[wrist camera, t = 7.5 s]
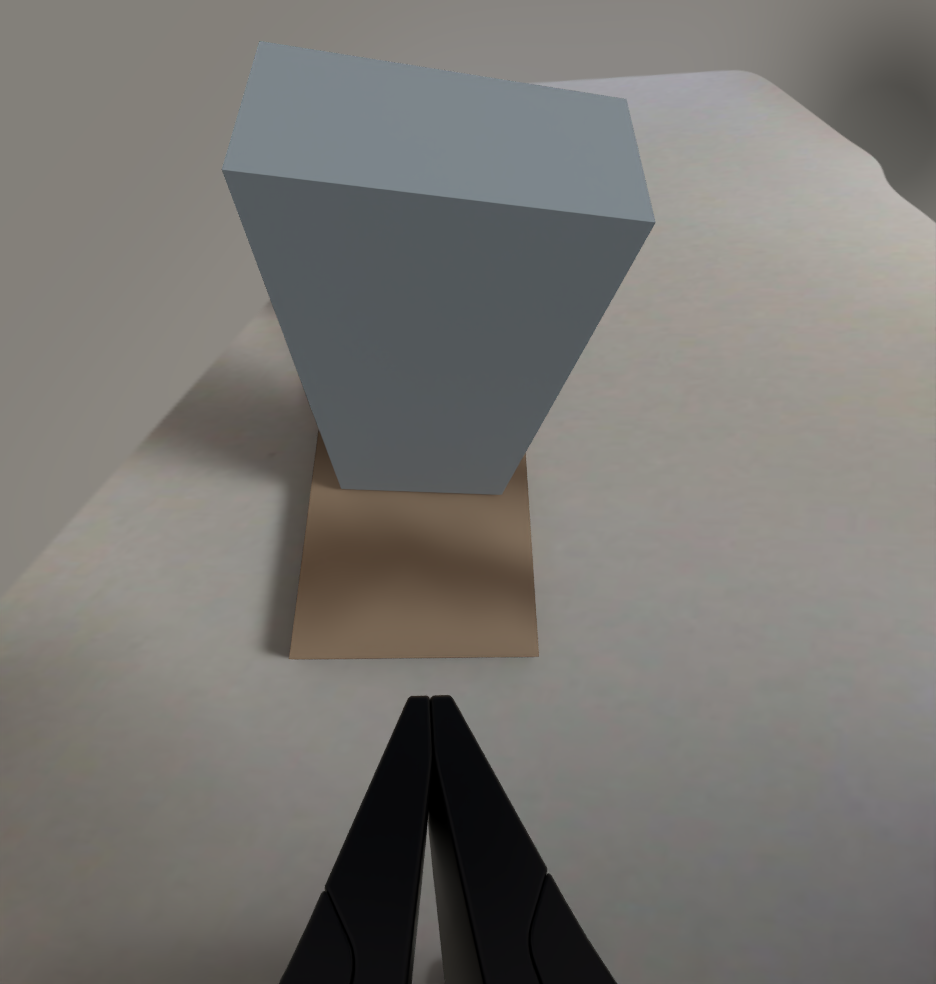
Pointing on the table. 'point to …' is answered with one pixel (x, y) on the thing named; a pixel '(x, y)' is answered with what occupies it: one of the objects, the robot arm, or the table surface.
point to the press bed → (414, 573)
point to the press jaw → (432, 252)
